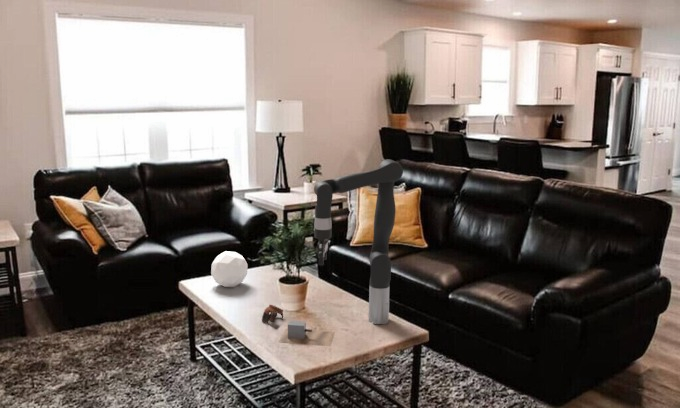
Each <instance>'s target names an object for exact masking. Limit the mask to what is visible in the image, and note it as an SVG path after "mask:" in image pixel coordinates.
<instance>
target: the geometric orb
mask: <svg viewBox="0 0 680 408" xmlns="http://www.w3.org/2000/svg"><path fill="white" fill-rule="evenodd" d="M248 266H249V264H248V263H247V261H246V259H245V258H244V257H243V255H242V254H240V253H238V252H236V251H227V250H225V251H223V252H221V253H220V254H218V255H217V256H216V257H215V258H214V260H213V261H212V263H211V267H210V268H211V270H210V274H211V276H212V278H213V280H214V282H215V283H216V284H217V285H221V286H222V287H225V288H235V287H237V286H238V285H239V284H241V283H243V282H244V280H245V278H246V277H247V276H248Z"/></svg>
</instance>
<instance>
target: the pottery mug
mask: <svg viewBox="0 0 680 408" xmlns="http://www.w3.org/2000/svg"><path fill="white" fill-rule="evenodd" d="M278 314H279V315H280V316H281V320H283V319H284V310H283V309H282V308H280V307H277V306H276V305H273V304H269V305H268V306H267V307H266V308H265V309H264V311H263V314H262V317H261V321H262V322H264V323H266V324H269V323H275V322H276V318H277V317H278Z"/></svg>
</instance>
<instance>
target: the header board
mask: <svg viewBox="0 0 680 408" xmlns="http://www.w3.org/2000/svg"><path fill="white" fill-rule="evenodd" d="M311 330H312V332H306V336H305V338H304V339H295V338H288V328H284V331H283V333H282V334H281V337H280V338H279V340H278V343H279V344H295V345H307V346H308V345H309V346H310V345H311V346H324V347H325V346H326V347H331V345H332V341H333V339H334V336H335V331H328V330H327V331H326V330H313V329H311Z"/></svg>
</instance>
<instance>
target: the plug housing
mask: <svg viewBox="0 0 680 408" xmlns="http://www.w3.org/2000/svg"><path fill="white" fill-rule="evenodd" d="M287 329H288V338H295V339H304V338H305V336H306V332H312V330H313V329H310V328H309V329H307V321H300V320H289V322H288V324H287Z"/></svg>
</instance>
